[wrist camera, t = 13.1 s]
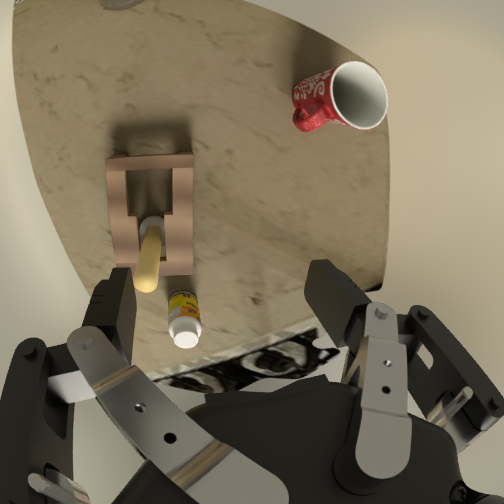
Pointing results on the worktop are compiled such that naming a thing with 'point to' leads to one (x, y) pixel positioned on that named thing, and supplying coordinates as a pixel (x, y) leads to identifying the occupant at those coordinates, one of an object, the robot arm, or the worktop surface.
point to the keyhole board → (174, 221)
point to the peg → (149, 253)
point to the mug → (341, 98)
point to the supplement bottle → (184, 319)
